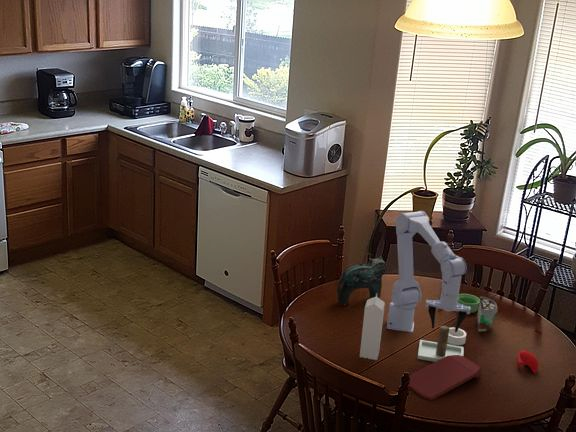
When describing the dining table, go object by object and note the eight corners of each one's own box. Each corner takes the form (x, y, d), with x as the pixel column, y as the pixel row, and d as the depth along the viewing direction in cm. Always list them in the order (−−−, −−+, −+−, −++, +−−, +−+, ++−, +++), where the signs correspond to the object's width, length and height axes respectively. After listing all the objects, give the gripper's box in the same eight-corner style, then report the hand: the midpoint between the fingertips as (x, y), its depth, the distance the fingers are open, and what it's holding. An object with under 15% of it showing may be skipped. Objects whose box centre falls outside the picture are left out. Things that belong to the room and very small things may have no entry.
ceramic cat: (377, 294, 284) (382, 248, 277) (386, 301, 278) (391, 255, 272) (334, 301, 276) (338, 254, 269) (341, 308, 270) (346, 260, 264)
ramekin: (481, 307, 278) (483, 297, 277) (474, 316, 271) (475, 306, 270) (459, 301, 283) (461, 291, 281) (451, 309, 275) (453, 299, 274)
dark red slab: (428, 411, 217) (484, 379, 229) (428, 398, 215) (485, 367, 227) (401, 391, 226) (457, 362, 238) (401, 379, 224) (458, 350, 236)
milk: (359, 357, 237) (365, 298, 230) (362, 348, 243) (367, 290, 235) (377, 360, 236) (383, 301, 229) (379, 351, 242) (386, 293, 234)
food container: (495, 337, 256) (499, 312, 253) (477, 334, 257) (482, 310, 254) (492, 321, 268) (497, 297, 264) (476, 319, 269) (480, 295, 265)
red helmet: (510, 358, 236) (525, 357, 231) (518, 347, 239) (533, 346, 235) (522, 377, 237) (537, 376, 232) (530, 366, 241) (544, 365, 236)
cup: (444, 344, 249) (445, 335, 248) (444, 334, 256) (446, 326, 254) (464, 347, 247) (466, 339, 246) (464, 338, 254) (466, 329, 253)
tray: (417, 359, 238) (417, 355, 237) (419, 344, 248) (420, 339, 247) (462, 367, 235) (463, 363, 234) (462, 351, 245) (463, 347, 244)
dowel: (435, 355, 240) (439, 329, 237) (436, 350, 243) (440, 325, 240) (444, 357, 239) (448, 331, 236) (445, 352, 242) (449, 327, 239)
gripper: (427, 294, 231) (422, 330, 236) (472, 301, 228) (466, 338, 233) (428, 285, 238) (423, 321, 242) (472, 292, 235) (466, 328, 239)
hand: (444, 328), depth 238 cm, fingers open, 7 cm apart
